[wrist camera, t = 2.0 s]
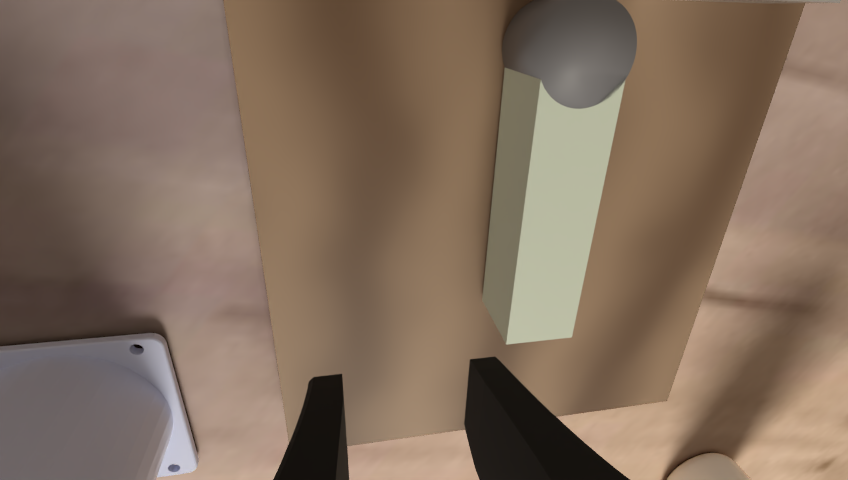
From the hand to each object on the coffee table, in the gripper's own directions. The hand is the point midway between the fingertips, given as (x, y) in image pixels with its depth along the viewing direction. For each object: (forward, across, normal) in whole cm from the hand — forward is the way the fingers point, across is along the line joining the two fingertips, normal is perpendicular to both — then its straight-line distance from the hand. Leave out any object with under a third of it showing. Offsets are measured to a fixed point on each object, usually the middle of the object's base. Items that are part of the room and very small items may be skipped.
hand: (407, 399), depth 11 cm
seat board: (+9, -6, 0) cm, 11 cm away
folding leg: (+7, -5, -3) cm, 10 cm away
